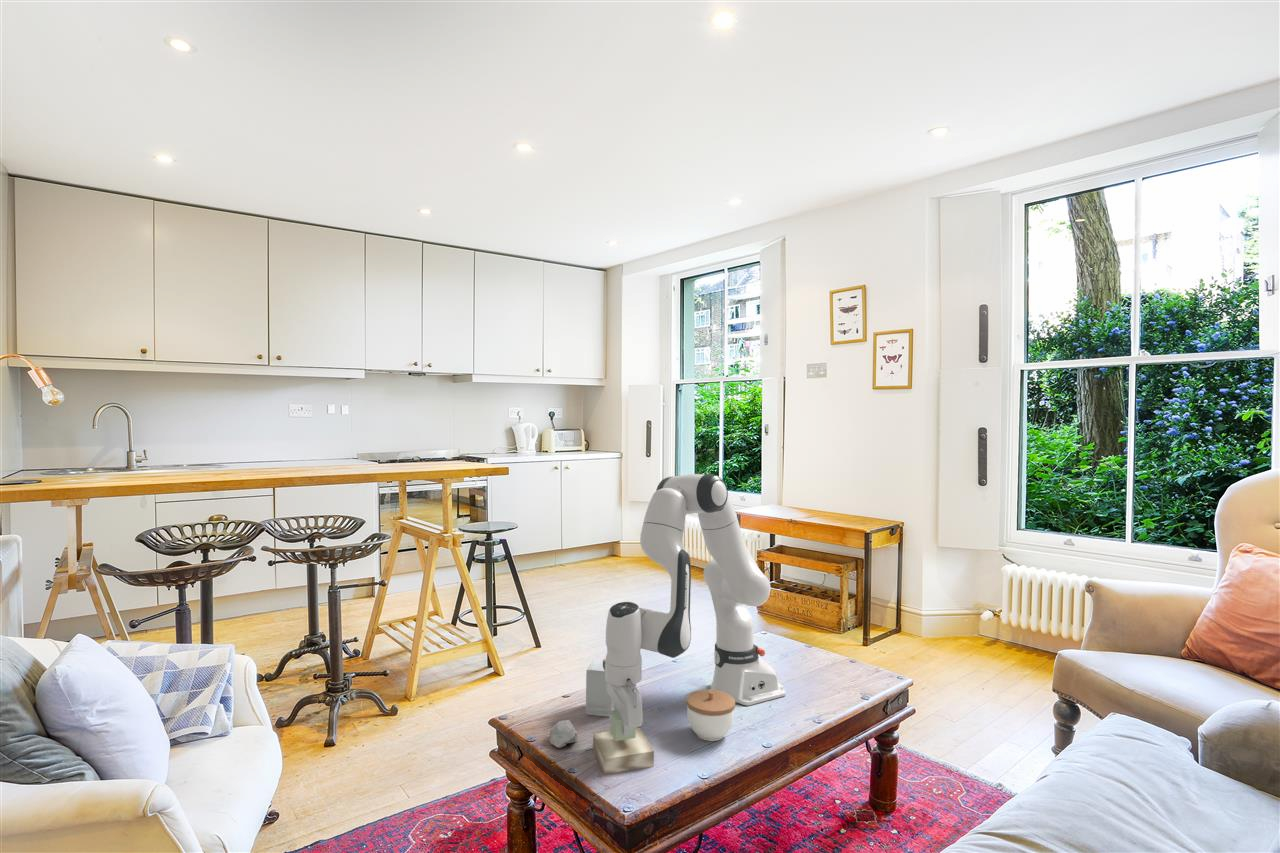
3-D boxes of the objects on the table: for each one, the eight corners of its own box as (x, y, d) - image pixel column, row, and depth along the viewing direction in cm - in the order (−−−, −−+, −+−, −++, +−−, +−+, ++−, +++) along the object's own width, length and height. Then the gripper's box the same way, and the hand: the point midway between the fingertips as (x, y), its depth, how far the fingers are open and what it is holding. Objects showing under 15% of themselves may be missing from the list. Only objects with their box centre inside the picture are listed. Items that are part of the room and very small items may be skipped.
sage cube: (629, 728, 159) (629, 708, 159) (635, 738, 154) (635, 717, 154) (610, 730, 157) (610, 710, 157) (615, 741, 153) (615, 720, 153)
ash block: (638, 742, 163) (639, 727, 163) (653, 767, 152) (653, 751, 152) (592, 749, 160) (593, 733, 160) (604, 775, 148) (604, 758, 148)
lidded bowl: (708, 717, 176) (709, 678, 176) (744, 735, 167) (745, 693, 166) (676, 732, 168) (676, 691, 168) (712, 752, 158) (712, 708, 158)
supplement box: (611, 717, 176) (611, 672, 175) (585, 714, 177) (585, 669, 177) (617, 705, 183) (617, 661, 183) (592, 703, 184) (592, 659, 184)
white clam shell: (586, 741, 163) (586, 722, 163) (563, 754, 157) (563, 734, 157) (562, 730, 168) (563, 712, 168) (539, 743, 162) (539, 723, 162)
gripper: (649, 687, 146) (648, 747, 147) (624, 655, 166) (624, 707, 166) (622, 691, 145) (622, 751, 145) (600, 657, 164) (600, 710, 164)
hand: (623, 727), depth 156 cm, fingers closed on sage cube, 5 cm apart
